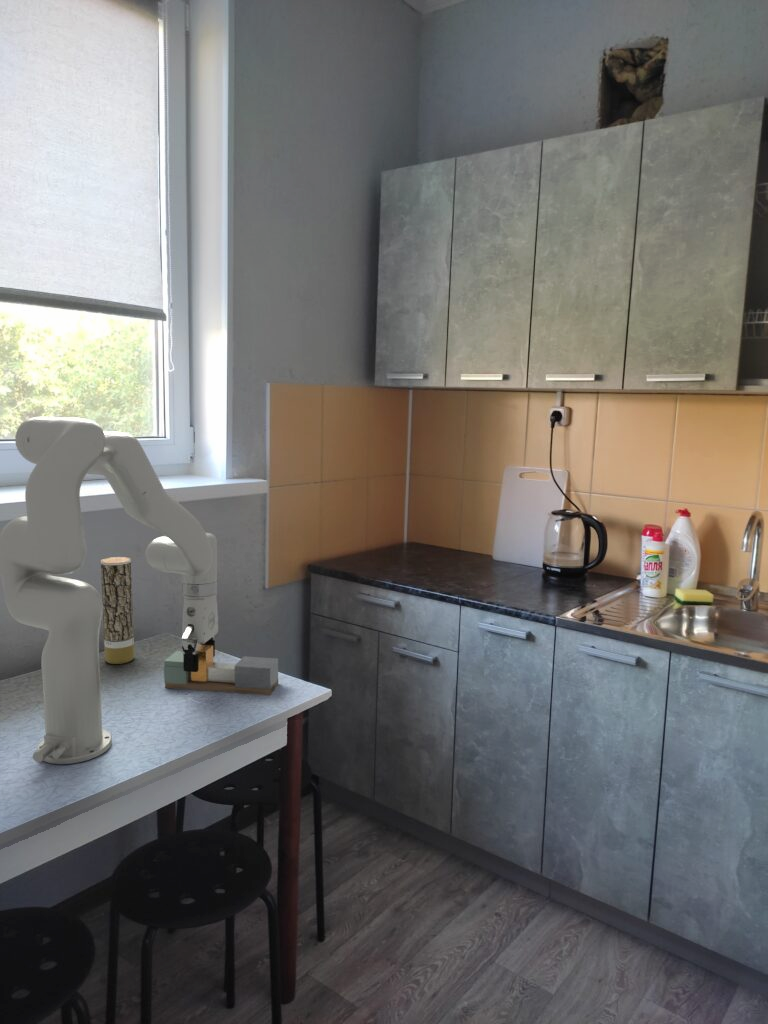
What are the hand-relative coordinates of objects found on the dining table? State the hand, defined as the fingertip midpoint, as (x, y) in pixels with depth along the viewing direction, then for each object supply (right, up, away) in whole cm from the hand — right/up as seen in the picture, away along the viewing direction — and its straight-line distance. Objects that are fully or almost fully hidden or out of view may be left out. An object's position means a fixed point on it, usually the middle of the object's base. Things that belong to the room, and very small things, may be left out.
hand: (199, 663), depth 163 cm
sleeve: (+13, -4, 0) cm, 14 cm away
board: (+5, -5, +1) cm, 7 cm away
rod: (+2, -3, +1) cm, 4 cm away
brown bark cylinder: (-23, -3, +15) cm, 28 cm away
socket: (-4, -3, +2) cm, 6 cm away
